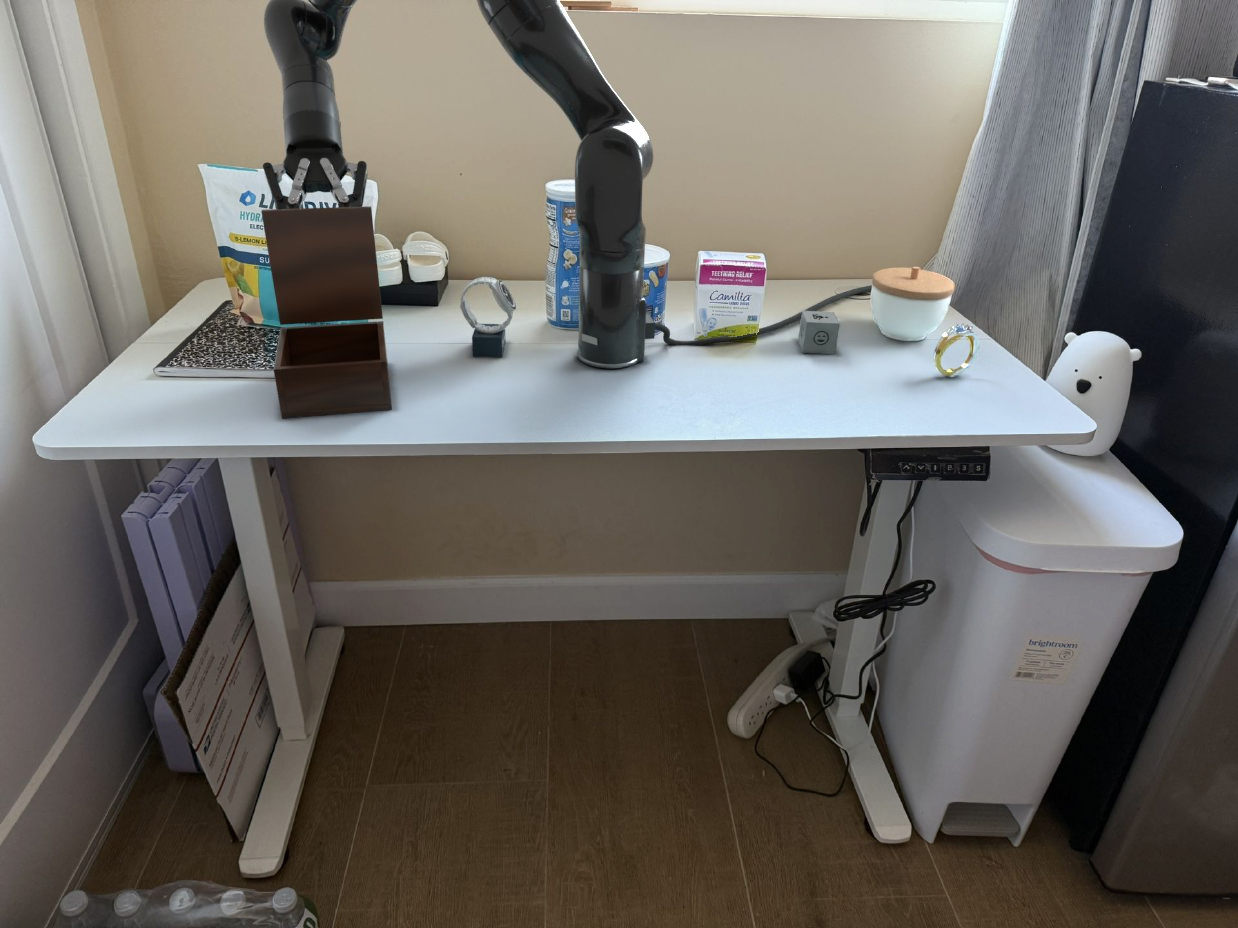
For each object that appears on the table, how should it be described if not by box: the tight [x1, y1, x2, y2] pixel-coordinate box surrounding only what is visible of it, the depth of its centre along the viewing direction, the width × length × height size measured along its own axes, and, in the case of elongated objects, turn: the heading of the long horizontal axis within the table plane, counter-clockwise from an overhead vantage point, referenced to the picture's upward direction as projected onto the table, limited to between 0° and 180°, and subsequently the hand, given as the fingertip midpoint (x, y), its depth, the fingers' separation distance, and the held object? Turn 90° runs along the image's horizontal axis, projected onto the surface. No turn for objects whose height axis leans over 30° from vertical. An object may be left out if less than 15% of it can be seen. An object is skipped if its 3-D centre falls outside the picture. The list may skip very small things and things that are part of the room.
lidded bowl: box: [869, 266, 956, 342], centre depth 144 cm, size 13×13×11 cm
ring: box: [932, 322, 980, 378], centre depth 130 cm, size 7×3×8 cm, turn 104°
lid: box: [260, 205, 384, 326], centre depth 122 cm, size 15×14×6 cm
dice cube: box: [797, 310, 841, 355], centre depth 139 cm, size 5×5×5 cm
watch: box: [459, 276, 517, 358], centre depth 132 cm, size 6×8×11 cm
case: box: [273, 320, 393, 419], centre depth 120 cm, size 15×14×7 cm
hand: (321, 232), depth 121 cm, fingers closed on lid, 5 cm apart
